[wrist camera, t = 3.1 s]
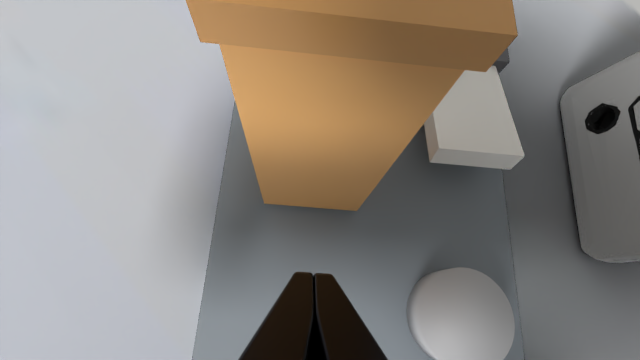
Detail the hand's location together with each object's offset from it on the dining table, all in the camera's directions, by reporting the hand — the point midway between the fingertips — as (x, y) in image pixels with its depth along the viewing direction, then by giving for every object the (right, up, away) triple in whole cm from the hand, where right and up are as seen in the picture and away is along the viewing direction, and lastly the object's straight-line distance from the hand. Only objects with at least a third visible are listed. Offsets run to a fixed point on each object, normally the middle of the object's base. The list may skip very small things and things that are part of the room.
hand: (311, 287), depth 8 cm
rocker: (+7, +6, +8) cm, 12 cm away
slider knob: (0, +3, +8) cm, 8 cm away
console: (+2, +2, +9) cm, 9 cm away
